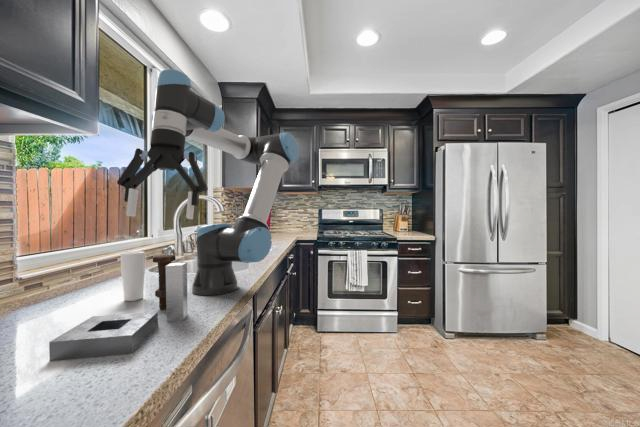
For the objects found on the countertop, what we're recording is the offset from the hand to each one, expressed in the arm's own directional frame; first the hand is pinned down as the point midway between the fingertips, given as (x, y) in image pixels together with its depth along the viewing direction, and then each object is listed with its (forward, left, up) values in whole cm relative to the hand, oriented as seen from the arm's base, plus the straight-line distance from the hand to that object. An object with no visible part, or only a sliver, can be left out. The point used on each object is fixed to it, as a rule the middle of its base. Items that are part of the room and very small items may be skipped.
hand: (160, 217), depth 71 cm
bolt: (-15, -4, -26) cm, 31 cm away
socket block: (+7, -8, -26) cm, 28 cm away
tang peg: (-5, +2, -26) cm, 27 cm away
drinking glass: (-27, -17, -26) cm, 41 cm away
